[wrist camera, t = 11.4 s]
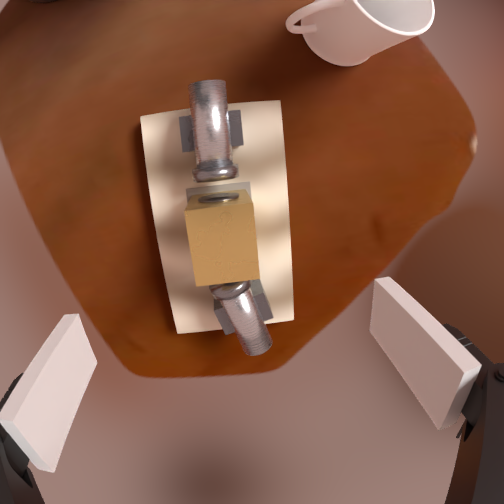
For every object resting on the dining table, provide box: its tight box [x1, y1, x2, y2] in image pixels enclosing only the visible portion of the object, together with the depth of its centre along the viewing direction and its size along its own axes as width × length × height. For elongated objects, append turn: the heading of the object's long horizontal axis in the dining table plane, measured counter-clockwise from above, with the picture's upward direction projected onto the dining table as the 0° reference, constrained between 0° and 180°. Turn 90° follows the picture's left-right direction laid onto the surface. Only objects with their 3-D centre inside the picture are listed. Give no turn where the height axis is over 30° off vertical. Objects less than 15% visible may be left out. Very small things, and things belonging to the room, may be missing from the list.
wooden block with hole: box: [184, 189, 260, 287], centre depth 27 cm, size 6×5×7 cm
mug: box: [286, 0, 435, 66], centre depth 21 cm, size 12×8×12 cm
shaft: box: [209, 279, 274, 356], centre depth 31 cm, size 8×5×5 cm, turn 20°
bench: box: [140, 100, 294, 334], centre depth 31 cm, size 23×13×2 cm, turn 5°
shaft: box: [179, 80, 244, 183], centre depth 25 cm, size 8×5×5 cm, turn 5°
